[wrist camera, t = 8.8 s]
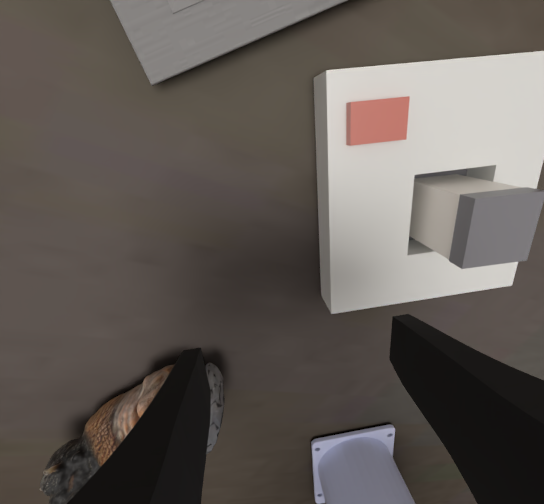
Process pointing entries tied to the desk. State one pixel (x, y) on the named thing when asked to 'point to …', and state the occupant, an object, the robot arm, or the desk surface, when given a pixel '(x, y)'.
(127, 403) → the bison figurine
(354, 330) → the desk surface
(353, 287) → the socket plate
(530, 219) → the plug
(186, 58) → the electrical outlet
